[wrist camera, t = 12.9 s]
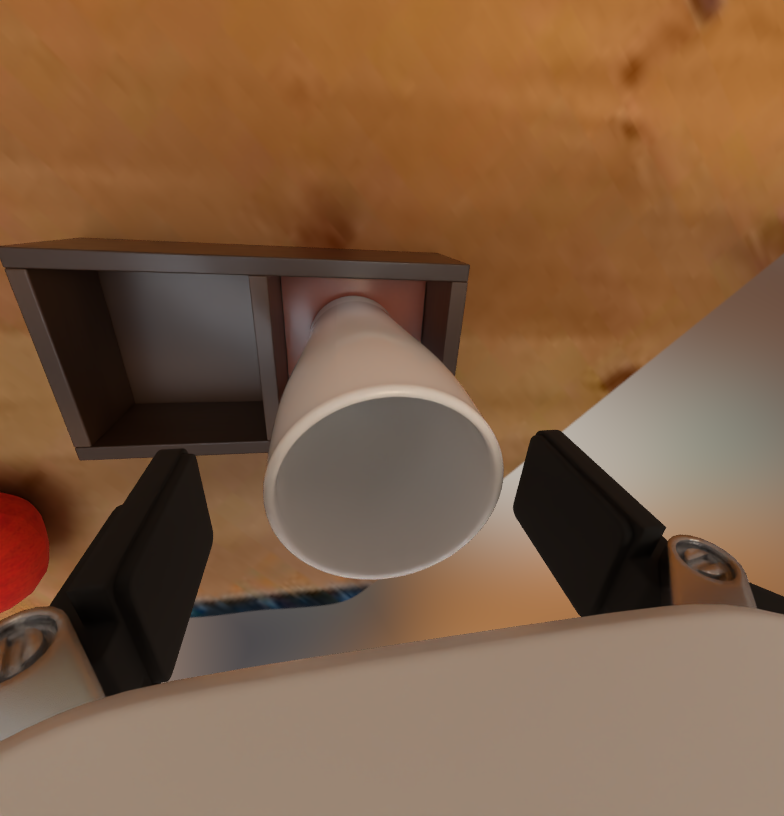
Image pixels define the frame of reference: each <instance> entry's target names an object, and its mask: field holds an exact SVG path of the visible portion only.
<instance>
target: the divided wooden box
mask: <svg viewBox="0 0 784 816" xmlns="http://www.w3.org/2000/svg"><path fill="white" fill-rule="evenodd" d="M0 260H1V262H2V265H3V267H5V272H6V275H7V277H8V280H9V282H10V285H11V287H12V290H13V292H14V295H15V297H16V300H17V302H18V305H19V308H20V310H21V313H22V315H23V318H24V320H25V323H26V325H27V328H28V330H29V333H30V336H31V338H32V341H33V343H34V346H35V348H36V351H37V353H38V356H39V358H40V361H41V363H42V366H43V369H44V371H45V374H46V376H47V379H48V381H49V384H50V386H51V389H52V391H53V394H54V396H55V399H56V402H57V404H58V407H59V409H60V412H61V414H62V417H63V419H64V422H65V424H66V427H67V430H68V432H69V435H70V437H71V440H72V442H73V445H74V447H75V450H76V453H77V455H78V458H79V460H103V459H127V458H150V457H154V456H155V454H156V453H157V452H158V451H159V450H161V449H181V448H185V449H186V450H187V452H188V454H195V456H198V455H221V454H245V453H268V451H269V445H270V439H271V434H272V429H273V425H274V420H275V417H276V413H277V410H278V406H279V403H280V400H281V397H282V394H283V391H284V389H285V386H286V384H287V382H288V380H289V377H290V375H291V373H292V371H293V369H294V366H295V364H296V362H297V360H298V358H299V356H300V354H301V352H302V350H303V347H304V345H305V343H306V341H307V339H308V337H309V332H310V328H311V325H312V322H313V320H314V318H315V317H316V315H317V314H318V312H319V311H320V310H321V309H322V308H323V307H324V306H325V305H327V304H328V303H329V302H331V301H333V300H335V299H338V298H340V297H344V296H362V297H366V298H369V299H372V300H374V301H376V302H377V303H379V304H380V305H382V306H383V307H384V308H385V309H386V310H387V311H388V312H389V314H390V315H391V316H392V318H393V319H394V320H395V321H397V322H398V323H399V324H400V325H401V326H402V327H403V328H405V329H406V330H407V331H408V332H409V333H410V334H412V335H413V336H414V337H415V338H416V339H418V340H419V341H420V342H421V343H422V344H423V345H425V346H426V347H427V348H428V349H429V350H430V351H431V352H432V353H433V354H434V355H435V356H437V357H438V358H439V359H440V360H441V361H442V362H443V363H444V365H445V366H446V367H447V368H448V369H449V370H450V371H451V373H452V374H453V375H454V376H455V371H456V364H457V357H458V349H459V342H460V335H461V328H462V320H463V313H464V306H465V299H466V291H467V284H468V283H467V281H468V276H469V268H470V265H469V264H466V263H463V262H460V261H458V260H455V259H452V258H449V257H446V256H444V255H441V254H438V253H422V252H399V251H376V250H353V249H330V248H307V247H284V246H261V245H238V244H215V243H192V242H169V241H146V240H123V239H100V238H73V239H63V240H53V241H43V242H34V243H24V244H14V245H4V246H0Z"/></svg>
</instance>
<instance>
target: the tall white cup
mask: <svg viewBox="0 0 784 816" xmlns="http://www.w3.org/2000/svg"><path fill="white" fill-rule="evenodd" d="M503 471H504V469H503V459H502V453H501V450H500V446H499V443H498V441H497V439H496V437H495V435H494V432H493V431H492V429H491V428H490V426H489V425H488V423H487V422H486V421H485V419H484V417H483V416H482V414H481V413H480V411H479V410H478V408H477V406H476V405H475V403H474V402H473V400H472V399H471V397H470V396H469V394H468V393H467V392H466V390H465V389H464V388H463V386H462V385H461V384H460V382H459V381H458V380H457V379H456V377H455V376H454V375H453V374H452V373H451V371H450V370H449V369H448V368H447V367H446V366H445V365H444V363H443V362H442V361H441V360H440V359H439V358H438V357H437V356H435V355H434V354H433V353H432V352H431V351H430V350H429V349H428V348H427V347H426V346H425V345H423V344H422V343H421V342H420V341H419V340H418V339H416V338H415V337H414V336H413V335H412V334H410V333H409V332H408V331H407V330H406V329H405V328H403V327H402V326H401V325H400V324H399V323H398V322H397V321H395V320H394V319H393V318H392V316H391V315H390V314H389V312H388V311H387V310H386V309H385V308H384V307H383V306H382V305H380V304H379V303H377V302H376V301H374V300H372V299H369V298H366V297H362V296H344V297H340V298H338V299H335V300H333V301H331V302H329V303H328V304H327V305H325V306H324V307H323V308H322V309H321V310H320V311H319V312H318V314H317V315H316V317H315V318H314V320H313V322H312V325H311V328H310V332H309V337H308V339H307V341H306V343H305V345H304V347H303V350H302V352H301V354H300V356H299V358H298V360H297V362H296V364H295V366H294V369H293V371H292V373H291V375H290V377H289V380H288V382H287V384H286V386H285V389H284V391H283V394H282V397H281V400H280V403H279V406H278V410H277V413H276V417H275V420H274V425H273V429H272V434H271V439H270V445H269V451H268V457H267V464H266V472H265V477H264V484H263V500H264V507H265V512H266V515H267V518H268V521H269V523H270V525H271V527H272V530H273V531H274V533H275V535H276V536H277V538H278V539H279V540H280V541H281V543H282V544H283V545H284V546H285V547H286V548H287V549H288V550H289V551H290V552H291V553H292V554H293V555H295V556H296V557H297V558H299V559H300V560H302V561H303V562H305V563H306V564H308V565H310V566H312V567H314V568H316V569H319V570H321V571H324V572H326V573H330V574H333V575H337V576H341V577H346V578H353V579H386V578H393V577H399V576H403V575H407V574H411V573H414V572H418V571H420V570H423V569H426V568H428V567H431V566H433V565H435V564H437V563H439V562H441V561H443V560H444V559H446V558H448V557H450V556H451V555H453V554H454V553H456V552H457V551H459V550H460V549H461V548H462V547H463V546H465V545H466V544H467V543H468V542H469V541H470V540H472V539H473V538H474V536H475V535H476V534H477V533H478V532H479V531H480V530H481V529H482V527H483V526H484V525H485V524H486V522H487V521H488V519H489V517H490V516H491V514H492V512H493V510H494V508H495V506H496V504H497V501H498V499H499V496H500V492H501V489H502V483H503Z"/></svg>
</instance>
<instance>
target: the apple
mask: <svg viewBox="0 0 784 816" xmlns="http://www.w3.org/2000/svg"><path fill="white" fill-rule="evenodd" d="M48 563H49V540H48V536H47V531H46V527H45V524H44V522H43V519H42V516H41V515H40V513H39V512H38V510H37V509H36V508H35V507H34V506H33V505H32V504H31V503H30V502H28V501H27V500H25V499H23V498H21V497H18V496H14V495H10V494H6V493H2V492H0V613H1V612H3V611H6V610H8V609H10V608H12V607H13V606H15V605H16V604H18V603H19V602H20V601H22V600H23V599H24V598H26V597H27V596H28V595H30V594H31V593H32V592H33V591H34V589H35V588H36V586H37V585H38V583H39V582H40V580H41V579H42V577H43V576H44V574H45V573H46V571H47V568H48Z"/></svg>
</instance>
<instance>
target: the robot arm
mask: <svg viewBox="0 0 784 816" xmlns="http://www.w3.org/2000/svg"><path fill="white" fill-rule="evenodd" d="M513 510H514V514H515V516H516V518H517V520H518V521H519V523H520V524H521V526H522V528H523V529H524V531H525V532H526V534H527V535H528V537H529V538H530V540H531V541H532V543H533V545H534V546H535V547H536V549H537V551H538V552H539V554H540V555H541V557H542V558H543V560H544V562H545V563H546V565H547V566H548V568H549V569H550V571H551V572H552V574H553V575H554V577H555V578H556V580H557V582H558V583H559V585H560V586H561V588H562V590H563V591H564V593H565V594H566V596H567V597H568V599H569V600H570V602H571V603H572V605H573V607H574V608H575V610H576V611H577V613H578V614H579V615H580V616H581V617H579V618H572V619H565V620H558V621H551V622H545V623H537V624H530V625H523V626H516V627H509V628H503V629H496V630H489V631H483V632H476V633H469V634H463V635H456V636H449V637H443V638H436V639H430V640H423V641H416V642H410V643H403V644H397V645H390V646H383V647H378V648H371V649H364V650H357V651H352V652H345V653H338V654H332V655H326V656H319V657H313V658H306V659H300V660H294V661H287V662H281V663H274V664H269V665H262V666H256V667H250V668H245V669H239V670H233V671H227V672H222V673H215V674H210V675H204V676H198V677H192V678H187V679H181V680H175V681H170V682H167V681H168V680H169V679H170V677H171V675H172V673H173V670H174V666H175V663H176V660H177V657H178V654H179V650H180V647H181V644H182V641H183V637H184V634H185V631H186V628H187V625H188V621H189V618H190V615H191V612H192V608H193V605H194V602H195V599H196V595H197V592H198V589H199V586H200V582H201V579H202V576H203V573H204V570H205V566H206V563H207V560H208V557H209V553H210V550H211V547H212V543H213V530H212V525H211V521H210V516H209V512H208V508H207V503H206V499H205V494H204V490H203V486H202V481H201V477H200V472H199V468H198V463H197V459H196V456H195V454H188V452H187V450H186V449H185V448H181V449H161V450H159V451H158V452H157V453H156V454H155V456H154V457H153V459H152V461H151V462H150V464H149V465H148V467H147V468H146V470H145V471H144V473H143V474H142V476H141V477H140V479H139V480H138V482H137V484H136V485H135V487H134V488H133V490H132V491H131V493H130V494H129V496H128V497H127V499H126V500H125V502H124V503H123V505H120V506H118V507H116V508H115V510H114V511H113V512H112V513H111V515H110V516H109V518H108V519H107V521H106V522H105V524H104V525H103V527H102V528H101V530H100V531H99V533H98V534H97V536H96V537H95V539H94V540H93V542H92V543H91V545H90V546H89V548H88V549H87V550H86V552H85V553H84V555H83V556H82V558H81V559H80V561H79V562H78V564H77V565H76V567H75V568H74V570H73V571H72V573H71V574H70V576H69V577H68V579H67V580H66V582H65V583H64V585H63V586H62V588H61V589H60V591H59V592H58V594H57V595H56V597H55V598H54V600H53V601H52V603H51V604H50V606H47V607H35V608H31V609H28V610H24V611H20V612H18V613H16V614H14V615H11V616H9V617H7V618H5V619H2V620H1V621H0V816H784V597H783V596H781V595H778V594H776V593H774V592H771V591H769V590H766V589H764V588H761V587H759V586H757V585H754V584H752V583H749V582H748V579H747V575H746V573H745V572H744V569H743V568H742V566H741V565H740V564H739V563H738V562H737V560H736V559H735V558H734V557H732V556H731V555H730V554H729V553H727V552H726V551H725V550H723V549H721V548H720V547H718V546H716V545H715V544H713V543H711V542H708V541H706V540H704V539H701V538H698V537H693V536H690V535H676V536H673V537H671V538H670V539H669V540H668V541H667V540H666V539H665V538H664V537H663V536H662V534H663V532H664V530H665V529H666V527H665V526H664V525H663V524H662V523H661V522H660V521H659V520H658V519H656V518H655V517H654V516H653V515H652V514H651V513H650V512H649V511H648V510H647V509H645V508H644V507H643V506H642V505H641V504H640V503H639V502H638V501H637V500H636V499H634V498H633V497H632V496H631V495H630V494H629V493H628V492H627V491H626V490H625V489H624V488H622V487H621V486H620V485H619V484H618V483H617V482H616V481H615V480H614V479H613V478H612V477H610V476H609V475H608V474H607V473H606V472H605V471H604V470H603V469H601V467H599V466H598V465H597V464H596V463H595V462H594V461H593V460H592V459H591V458H589V456H587V455H586V454H585V453H584V452H583V451H582V450H581V449H580V448H579V447H578V446H576V445H575V444H574V443H573V442H572V441H571V440H570V439H569V438H568V437H567V436H566V435H564V434H563V433H562V432H561V431H559V430H544V431H538V432H537V433H536V435H535V436H533V437H532V438H531V440H530V444H529V447H528V451H527V455H526V459H525V462H524V466H523V470H522V474H521V478H520V481H519V486H518V489H517V493H516V497H515V501H514V505H513ZM161 682H166V683H161Z"/></svg>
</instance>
